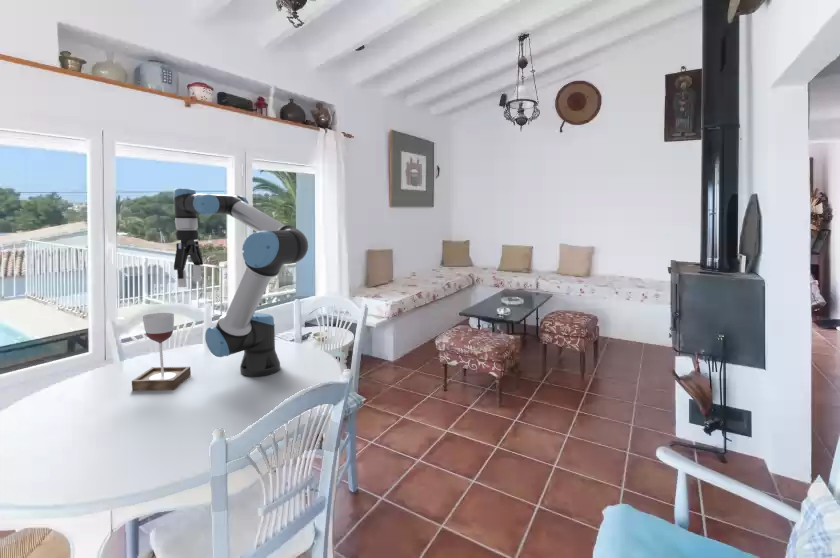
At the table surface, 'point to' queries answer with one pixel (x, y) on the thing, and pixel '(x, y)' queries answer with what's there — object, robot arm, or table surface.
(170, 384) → the tray
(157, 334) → the wineglass
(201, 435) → the table surface
